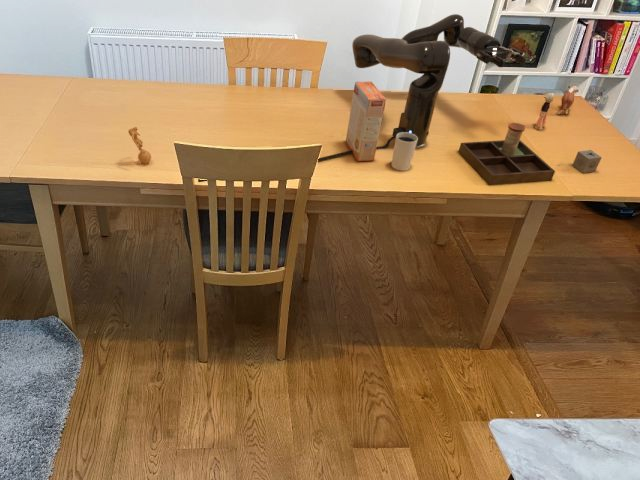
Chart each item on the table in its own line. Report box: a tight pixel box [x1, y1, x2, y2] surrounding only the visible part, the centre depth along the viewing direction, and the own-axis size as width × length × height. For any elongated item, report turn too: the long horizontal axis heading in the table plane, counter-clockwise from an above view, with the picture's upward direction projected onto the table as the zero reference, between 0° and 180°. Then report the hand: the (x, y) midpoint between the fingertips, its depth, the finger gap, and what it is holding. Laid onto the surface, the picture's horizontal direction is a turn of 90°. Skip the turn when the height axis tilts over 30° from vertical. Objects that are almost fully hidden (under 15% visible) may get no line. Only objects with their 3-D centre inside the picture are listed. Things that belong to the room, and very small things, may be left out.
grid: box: [458, 139, 556, 186], centre depth 188 cm, size 21×21×3 cm
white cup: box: [391, 132, 418, 171], centre depth 183 cm, size 7×7×10 cm
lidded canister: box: [501, 122, 526, 156], centre depth 190 cm, size 5×5×10 cm
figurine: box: [128, 126, 152, 164], centre depth 178 cm, size 8×6×12 cm
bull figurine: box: [557, 85, 579, 115], centre depth 222 cm, size 4×13×8 cm, turn 148°
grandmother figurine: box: [534, 92, 555, 131], centre depth 209 cm, size 8×4×13 cm, turn 168°
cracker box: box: [345, 81, 387, 162], centre depth 186 cm, size 14×6×21 cm, turn 9°
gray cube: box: [571, 149, 602, 174], centre depth 189 cm, size 5×5×5 cm
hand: (514, 62), depth 187 cm, fingers open, 8 cm apart
